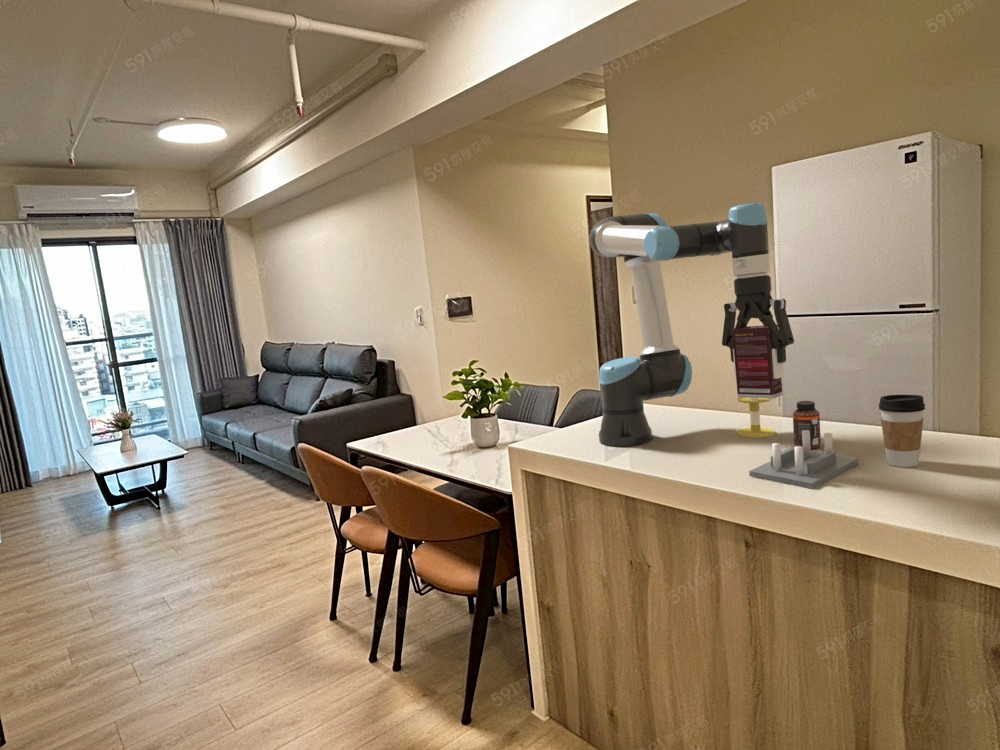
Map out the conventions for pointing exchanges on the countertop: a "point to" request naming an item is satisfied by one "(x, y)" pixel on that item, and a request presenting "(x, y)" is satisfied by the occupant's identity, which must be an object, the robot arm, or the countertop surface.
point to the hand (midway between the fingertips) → (758, 376)
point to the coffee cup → (902, 428)
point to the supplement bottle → (806, 423)
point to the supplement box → (755, 363)
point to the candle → (755, 420)
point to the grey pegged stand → (804, 464)
